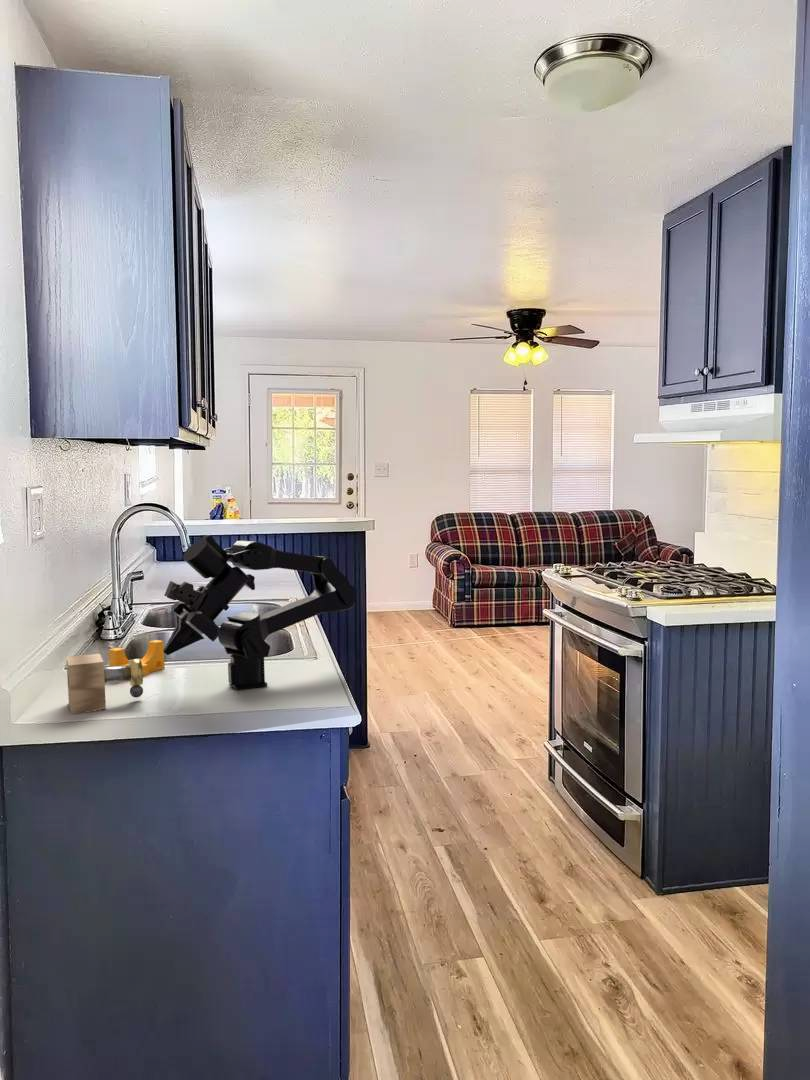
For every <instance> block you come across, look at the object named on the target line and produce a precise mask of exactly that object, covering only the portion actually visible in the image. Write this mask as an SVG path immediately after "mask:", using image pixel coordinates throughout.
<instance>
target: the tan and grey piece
mask: <svg viewBox="0 0 810 1080" xmlns="http://www.w3.org/2000/svg"><path fill="white" fill-rule="evenodd" d="M141 659H142V658H134V659H128V660H129V665H124V666H115V667H110V666H106V667H104V679H105V684H113V683H114V684H115V683H120V682H121V683H123V682H129V684H130V686H131V687H130V689H129V694H130V696H131V697H133V698H135V699H137V698H140V697H141V696H142V695H143V693H144V689H143V683H144V676H143V670H142V662H141Z"/></svg>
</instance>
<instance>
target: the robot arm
mask: <svg viewBox="0 0 810 1080" xmlns="http://www.w3.org/2000/svg"><path fill="white" fill-rule="evenodd" d="M182 560H183V561H184V562H186V563H187V564H188V566H190V567H191V568H192V569H193V570H194V571H195V572H197V573H198V574H199V575H200V576H201V577H202V578H203V579H209V578H211V579H210V580H209V582H208V583H207V584H206V585H200V586H199V587H198V588H197V589H194V584H192V583H190V582H187V581H183V582H182V583H178V582H176V581H172V580H170V581H169V583H168V586H167V588H166V591H165V592H164V597H166V598H167V599H169V600H172V601H176V602H175V603H174V604H173V605H172V606H171V607H170V609H171V610H172V611H173V612H174V613H175V614H174V618H175V620H174V621H175V627H174V629H173V631H172V633H171V635H170V637H169V639H168V641H167V643H166V645H164V650H163V652H164V655H166V656H170V655H171V654H173V653H175V652H177V651H180V650H182V649H184V648H186V647H188V646H190V645H192V644H194V643H197V642H199V641H202V640H204V639H205V637H204V636H203V635H205V636H206V637H207V639H209V640H210V641H211V642H215V641H216V640H217V638H218V641H219V644H221V646H223V647H224V651H225V653H226V654H227V655H230V662H228V663H227V671H228V672H227V674H228V675H227V676H228V683H229V685H230V686H231V687H233V688H234V689H235V690H245V689H254V688H260V687H267V686H268V682H266V674H265V658H267V657H269V654H270V649H271V646H270V645H269V644H268V642H266V639H267V638H268V637H269V636H270V635H272V634H274V633H277V632H279V631H281V630H284V629H286V628H289V627H291V626H294V625H297V624H298V623H301V622H303V621H305V620H307V619H311V618H312V617H315V616H317V615H319V614H324V613H333V612H334V613H335V612H342V611H347V610H350V609H352V608H353V607H354V606H355V603H356V599H357V591H356V588H355V587H354V586H353V585H352V584H351V583H350V581H349V579H348V578H347V577H346V576H345V575H344V574H343V573H342V572H341V571H340V570H339V568H337V567H336V565H335V563H334V562H333V560H332V559H331V558H330V557H328V556H323V555H321V556H319V555H310V554H309V555H308V554H303V553H297V552H289V551H283V550H280V549H276V548H274V547H273V546H270V545H269V544H265V543H263V542H260V541H254V540H253V541H252V540H237V541H236V542H234V544H232V545H231V547H228V548H227V547H226V548H224V549H223V548H222V547H221V546H220V545H219V543H217V541H216V540H215V539H214V538H213V536H211V535H208V534H204V535H203V536H202V537H201V538H200V539H198V540H197V541H194V543H192V544H191V545H189V546H188V547H187V548H186V550H185V551H184V554H183V557H182ZM229 563H232V566H233V567H232V566H231V565H230V564H229ZM242 569H244V570H250V571H251V570H252V571H261V570H271V569H272V570H273V569H283V570H290V571H291V570H292V571H297V572H298V571H299V572H305V573H310V574H311V577H312V582H313V583H312V584H313V587H314V588H315V589H314V590H313V591H312V592H311V594H310V595H308V596H305V597H303V598H300V599H298V600H295V601H293V602H290V603H288V604H285V605H282V606H281V607H277V608H275V609H272V610H270V611H267V612H266V613H262V614H260V613H255V612H249V611H245V610H244V611H241V612H239V613H238V614H236V615H234V616H227V617H226V618H227V620H225V621H223V622H222V623H221V624H220V627H219V626H218V625H217V624H216V622H215V620H216V619H217V618H218V616H220V614H221V613H222V612H223V610H224V611H228V610H229V609H230V606H229V604H230V603H231V602H232V600H234V598H235V597H236V596H237V595H238V594H239V592H240V591H241V590H242V589H243V588H244V587H247V588H248V589H250V590H252V591H255V590H256V585H255V576H254V575H252V574H251V573H250V574H247V573H246V572H244V571H243V570H242ZM253 687H254V688H253Z"/></svg>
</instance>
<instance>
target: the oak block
mask: <svg viewBox="0 0 810 1080" xmlns="http://www.w3.org/2000/svg"><path fill="white" fill-rule="evenodd" d="M104 668H105V663H104V659H103V657H102V655H101V654H100V653H92V654H81V655H75V656H66V674H67V675H66V676H67V679H66V680H67V694H68V695H67V697H68V706H70V707H69V709H70V715H74V714H73V713H76V714H82V713H81V712H83V713H88V712H87V711H91V712H95V711H94V710H99V711H102V710H101V709H106V710H107V703H106V701H107V700H106V687H105V686H106V685H105V679H104Z"/></svg>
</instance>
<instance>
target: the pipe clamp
mask: <svg viewBox="0 0 810 1080" xmlns="http://www.w3.org/2000/svg"><path fill="white" fill-rule="evenodd" d="M164 643H165V642H164V640H159V639H154V640H150V641H148V648H147V651H146V653H145V654H144V656H143V657H142V658H140V659H141V662H142V670H143V677H146V676H149V673H153V672H159V671H162V670H165V666H166V665H165V653H164V652H163V650H164V648H165V644H164ZM108 651H109V653H108V655H109V667H115V666H124V665H129V660H130V659H128V657H127V656H126V653H125V648H120V647H115V648H110V649H108ZM161 669H162V670H161Z"/></svg>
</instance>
